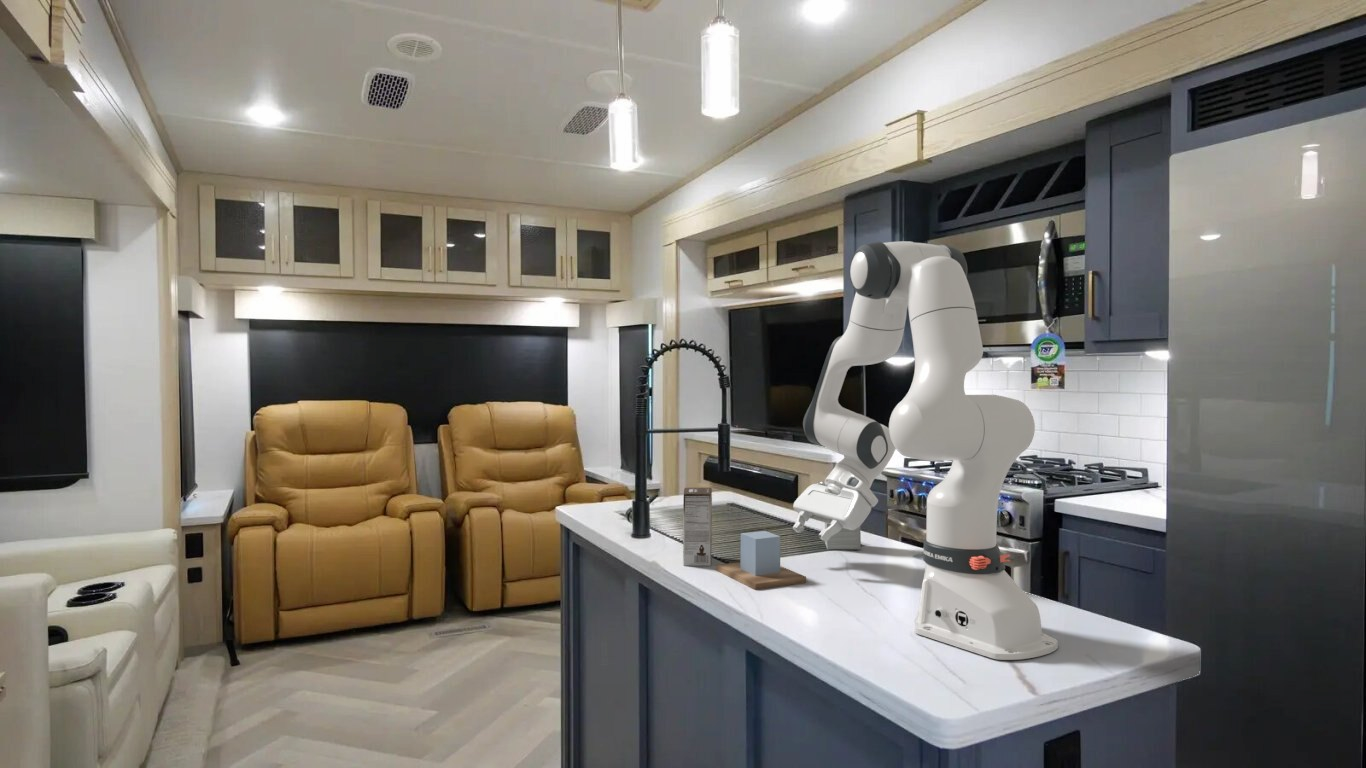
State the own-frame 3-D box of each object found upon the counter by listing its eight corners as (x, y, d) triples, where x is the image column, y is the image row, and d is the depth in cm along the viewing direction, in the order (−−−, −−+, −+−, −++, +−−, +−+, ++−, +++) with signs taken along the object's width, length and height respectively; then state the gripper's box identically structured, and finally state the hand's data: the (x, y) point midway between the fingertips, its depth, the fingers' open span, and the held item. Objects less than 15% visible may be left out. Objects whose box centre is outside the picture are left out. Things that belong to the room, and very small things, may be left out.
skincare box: (857, 544, 188) (858, 481, 187) (861, 551, 181) (861, 485, 180) (822, 543, 189) (823, 480, 188) (825, 550, 181) (826, 484, 181)
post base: (806, 582, 153) (806, 549, 153) (755, 589, 148) (755, 555, 148) (764, 564, 168) (764, 534, 168) (716, 570, 163) (716, 539, 162)
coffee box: (683, 556, 175) (683, 486, 175) (711, 556, 175) (711, 487, 175) (682, 566, 166) (683, 493, 166) (711, 566, 166) (712, 493, 166)
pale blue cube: (780, 572, 157) (780, 536, 156) (755, 575, 154) (755, 539, 154) (764, 565, 162) (764, 530, 162) (740, 568, 159) (740, 533, 159)
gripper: (809, 471, 176) (773, 517, 172) (867, 483, 157) (829, 534, 153) (824, 489, 178) (790, 535, 174) (883, 502, 159) (846, 554, 155)
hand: (808, 534), depth 163 cm, fingers open, 8 cm apart
